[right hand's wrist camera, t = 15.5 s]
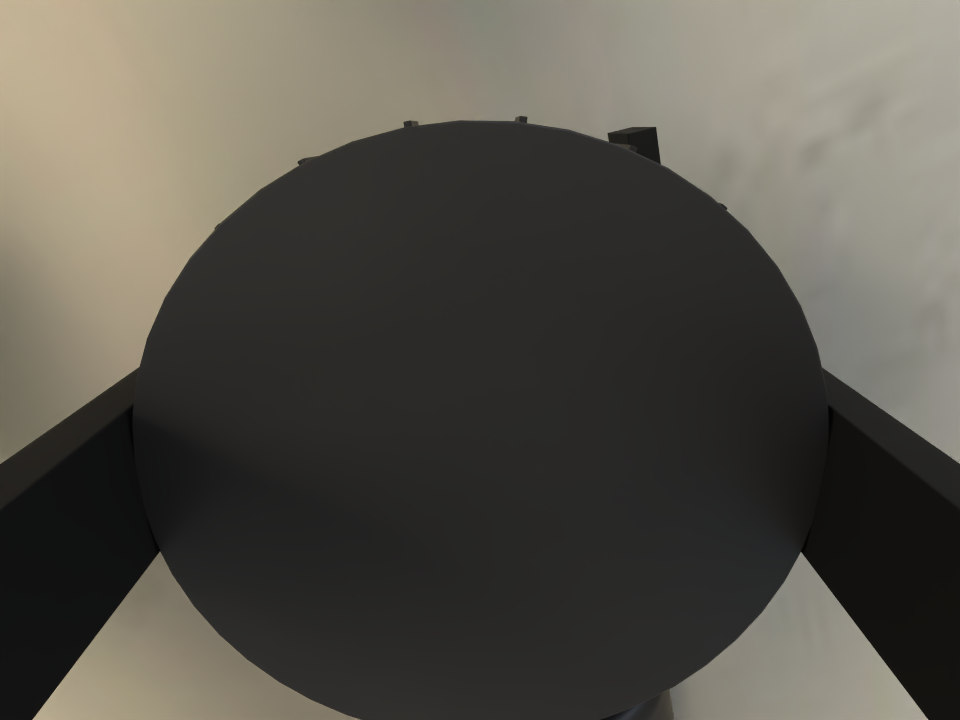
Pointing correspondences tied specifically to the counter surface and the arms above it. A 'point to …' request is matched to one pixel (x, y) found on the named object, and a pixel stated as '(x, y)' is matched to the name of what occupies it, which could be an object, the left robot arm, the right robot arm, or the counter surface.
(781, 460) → the lid
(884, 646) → the right robot arm
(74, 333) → the counter surface
